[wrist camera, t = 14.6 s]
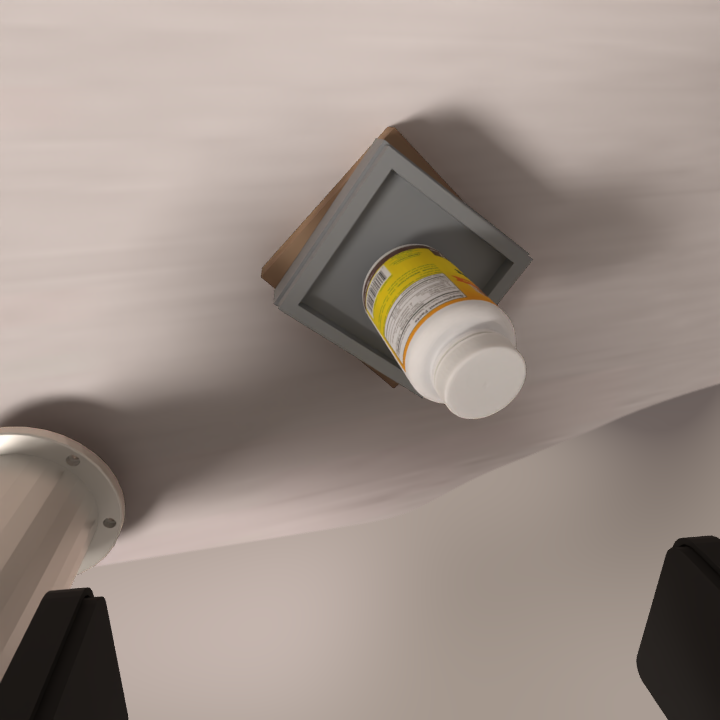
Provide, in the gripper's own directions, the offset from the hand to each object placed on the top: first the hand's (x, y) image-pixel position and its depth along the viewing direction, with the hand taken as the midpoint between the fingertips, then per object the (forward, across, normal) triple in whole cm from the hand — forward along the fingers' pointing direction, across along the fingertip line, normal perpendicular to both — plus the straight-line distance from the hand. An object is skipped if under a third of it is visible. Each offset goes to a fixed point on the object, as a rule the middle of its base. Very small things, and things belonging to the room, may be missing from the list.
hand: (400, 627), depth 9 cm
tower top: (+28, -6, 0) cm, 29 cm away
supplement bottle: (+25, -5, 0) cm, 25 cm away
